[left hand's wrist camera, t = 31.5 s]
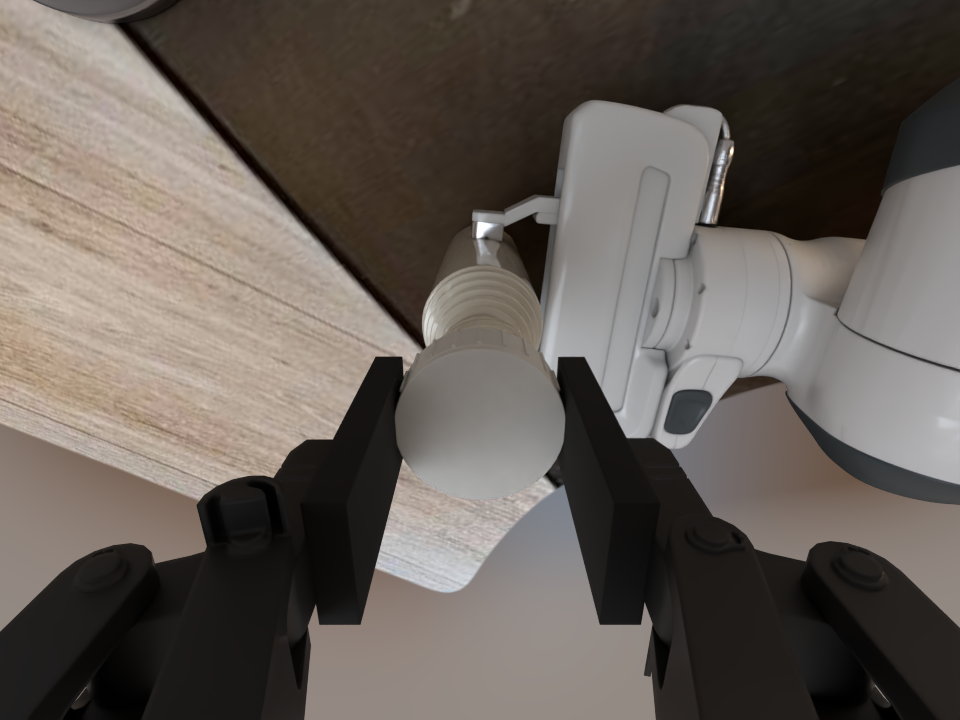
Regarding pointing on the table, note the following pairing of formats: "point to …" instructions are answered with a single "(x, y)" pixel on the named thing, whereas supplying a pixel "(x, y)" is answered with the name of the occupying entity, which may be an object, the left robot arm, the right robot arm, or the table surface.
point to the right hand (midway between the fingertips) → (467, 281)
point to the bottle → (482, 291)
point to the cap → (480, 414)
